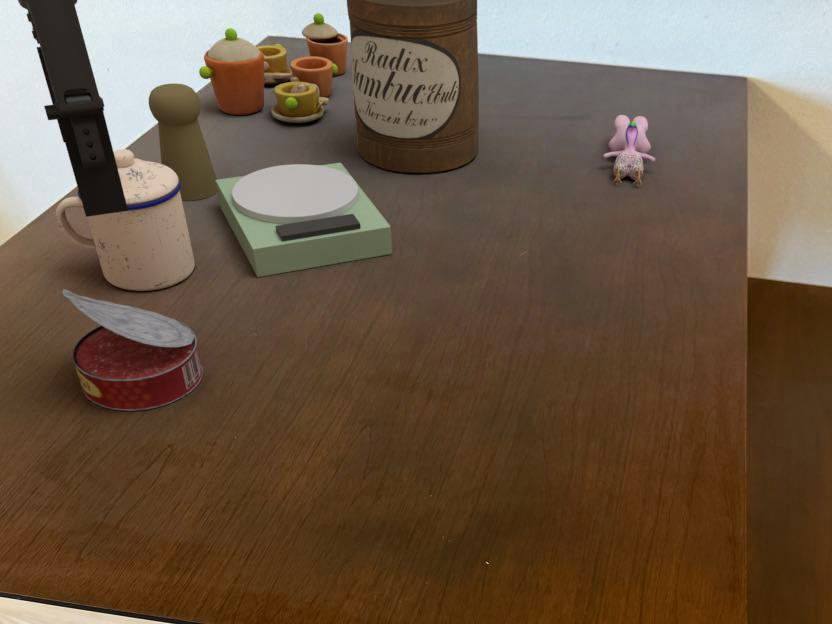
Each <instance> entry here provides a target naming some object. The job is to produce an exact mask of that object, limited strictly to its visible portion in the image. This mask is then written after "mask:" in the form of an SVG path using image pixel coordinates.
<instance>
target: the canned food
mask: <svg viewBox="0 0 832 624" xmlns="http://www.w3.org/2000/svg"><path fill="white" fill-rule="evenodd" d="M61 295H62V297H64V298H65V299H67V300H69V302H70V303H71V304H72V305H73V306H74V307H75V308H76V309H77V310H78V311H80V312H81V313H82V314H84V315H85V316H86V317H87V318H88V319H90V320H91V321H93V322H94V323H96V324H97V325H99V326H97V327H95V328H93V329H91V330H89V331H88V332H86V333H85V334H84V335H83V336H81V337H80V338H79V339H78V340H77V342H76V343H75V345H74V347H73V348H72V354H71V359H72V363H73V364H74V367H75V370H76V373H77V376H78V379H79V383H80V386H81V390H82V393H83V394H84V395H85V397H86V398H87V399H88V400H89V401H91V402H92V403H93V404H94V405H97V406H99V407H100V408H101V407H102V408H104V409H109V410H113V411H120V412H121V411H122V412H139V411H146V410H147V411H148V410H152V409H157V408H161V407H164V406H166V405H170V404H173V403H174V402H177V401H180V400H181V399H183V398H185V397H186V396H187V395H189V394H190V393H191V392H192V391H194V390H195V389H196V388H197V387H198V385H199V384H200V382H201V381H202V378H203V376H204V375H203V374H204V366H203V364H202V360H201V354H200V349H199V345H198V340H197V337H196V334H195V332H194V331H193V330H192V329H191V328H190V326H189V325H187V324H185V323H184V322H182V321H179V320H177V319H175V318H171V317H168V316H165V315H163V314H160V313H158V312H156V311H151V310H146V309H143V308H142V309H141V308H139V307H135V306H132V305H125V304H119V303H115V302H111V301H107V300H101V299H95V298H92V297H88V296H85V295H79V294H77V293H74V292H72V291H70V290H69V289H65V288H64V289H62V293H61Z"/></svg>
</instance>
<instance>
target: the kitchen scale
mask: <svg viewBox="0 0 832 624" xmlns="http://www.w3.org/2000/svg"><path fill="white" fill-rule="evenodd" d="M215 181H216V187H217V192H216V193H217V197H218V203H219V207H220V209H221V211H222V213H223V214H224V217H225V218H226V220H227V222H228V224H229V226H230V228H231V230H232V232H233V234H234V236H235V237H236V239H237V241H238V243H239V245H240V247H241V249H242V251H243V253H244V255H245V256H246V258H247V260H248V262H249V264H250V266H251V268H252V270H253V271H254V274H255V276H256V277H257V278H262V277H267V276H273V275H278V274H284V273H290V272H295V271H301V270H306V269H313V268H319V267H325V266H331V265H337V264H341V263H348V262H354V261H359V260H365V259H371V258H376V257H382V256H387V255H392V254H393V245H392V244H393V241H392V226H391V224H389V222H388V221H387V219H385V217H384V216H383V215H382V213H381V212H380V211H379V209H378V208H377V207H376V206H375V204H374V203H373V201H372V200H371V199H370V198H369V197H368V195H367V194H366V193H365V192H364V191H363V189H362V187H360V185H359V184H358V183H357V181H356V180H355V179H354V178H353V176H352V175H351V174H350V173H349V171H348V170H347V168H346V167H345V166H344V165H343V164H342V162H335V163H327V164H320V165H319V164H316V165H315V164H304V163H303V164H302V163H301V164H300V163H298V164H296V163H293V164H292V163H291V164H282V165H274V166H270V167H266V168H265V167H264V168H261V169H258V170H255V171H252V172H251V173H249V174H246V175H239V176H234V177H226V178H219V179H217V180H215Z"/></svg>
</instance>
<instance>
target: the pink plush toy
mask: <svg viewBox="0 0 832 624" xmlns="http://www.w3.org/2000/svg"><path fill="white" fill-rule="evenodd" d="M613 127H614V131H615V134H614V135H613V137H612V138H611V139H610V140H609V142H608V148H609V150H610V152H605V153H604V154H603V155H602V156H603V158H604V159H608V158H610V157H613V158H614V157H615V161H614V162H613V163H614V164H613V169H612V171H613V176H614V177H615V178H614V179H613V183H615V182H616V183H615V185H616V184H617V185H618V182H620V184H621V183H623V182H622V179H624V178H625V177H629V178H630V179H632V180H633V181H634V182H633V184H635V183H636V184H642V180H641V178H642V177H643V174H644V160H648V161H650V162H651V163H655V161H656V158H655V157H654V156H652V155H650V154H648V153H649V152H650V151H651V148H652V147H651V143H650V141H649V140H648V138H647V135H646V133H647V131H648V129H649V122H648V119H647V118H646V117H645V116H642V115H638V116H635V117H634V118H633V120H632V121H630V117H628V116H627V115H625V114H619V115H617V116H616V118H615V120H614V124H613Z"/></svg>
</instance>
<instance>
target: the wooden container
mask: <svg viewBox="0 0 832 624" xmlns="http://www.w3.org/2000/svg"><path fill="white" fill-rule="evenodd" d="M346 7H347V16H348V20H349V33H350V34H349V35H350V51H351V54H350V55H351V68H352V69H351V70H352V71H351V72H352V88H353V89H352V90H353V91H352V92H353V105H354V116H355V121H356V122H355V130H356V138H357V139H356V140H357V149H358V153H359V155H360V156H361V157H362V159H363V160H364V161H366V162H368V163H369V164H370V165H371V164H372V165H373V166H375V167H377V168H381V169H384V170H388V171H391V172H398V173H405V174H431V173H441V172H444V171H445V172H446V171H451V170H454V169H457V168H459V167H462V166H464V165H466V164H468V163H470V162H471V161H472V160H473V159H475V157H476V156H477V155H478V154H479V153H478V152H479V130H480V129H479V128H480V127H479V125H480V124H479V123H480V121H479V120H480V119H479V118H480V105H479V104H480V85H479V81H480V80H479V79H480V78H479V77H480V76H479V45H478V44H479V40H478V0H346Z"/></svg>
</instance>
